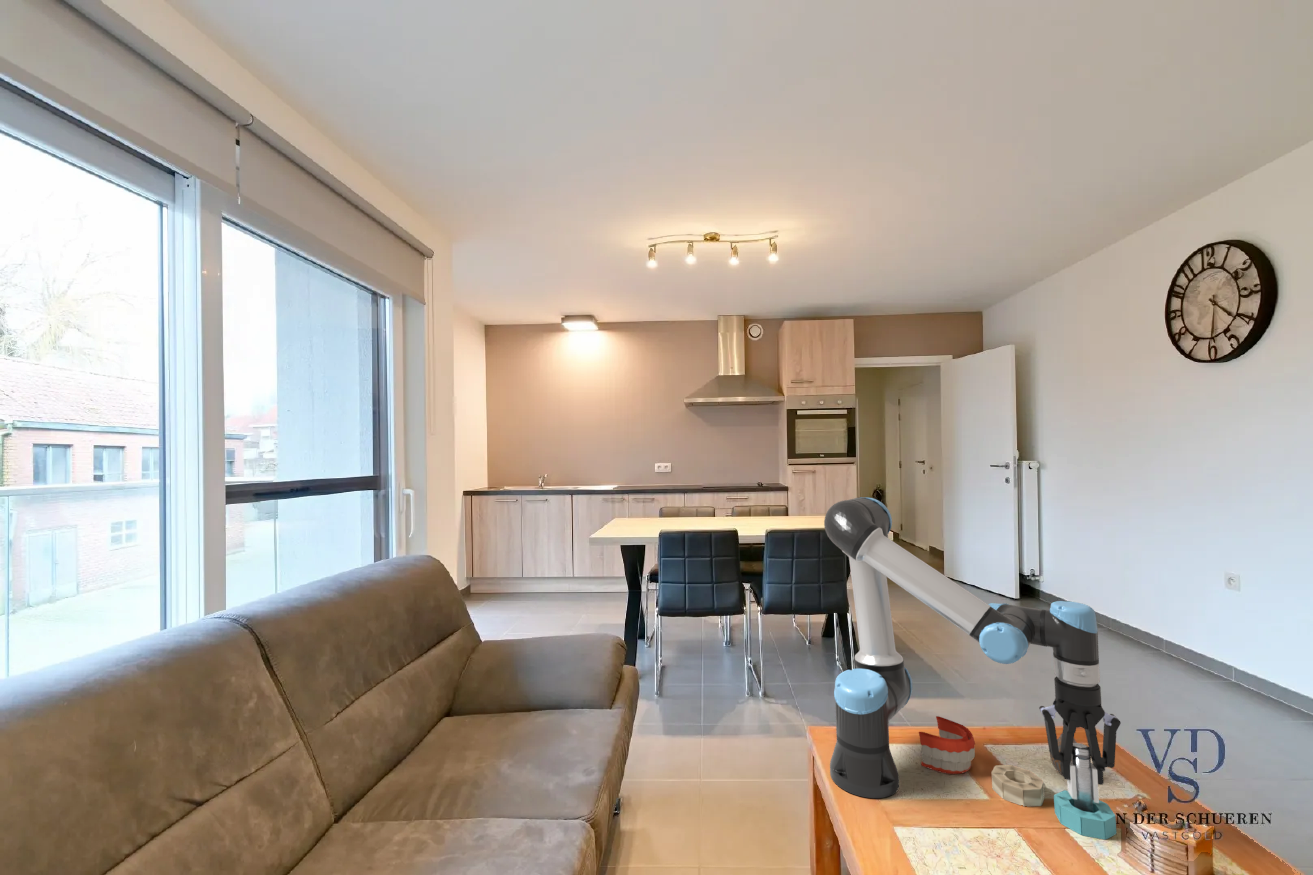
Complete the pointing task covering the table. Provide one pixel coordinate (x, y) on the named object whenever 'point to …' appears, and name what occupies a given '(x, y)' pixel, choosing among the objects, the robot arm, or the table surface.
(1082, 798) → the capped vial
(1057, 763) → the vase
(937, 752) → the toy
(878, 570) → the robot arm
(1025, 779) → the bead birch
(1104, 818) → the bead teal
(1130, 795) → the table surface
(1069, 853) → the table surface
